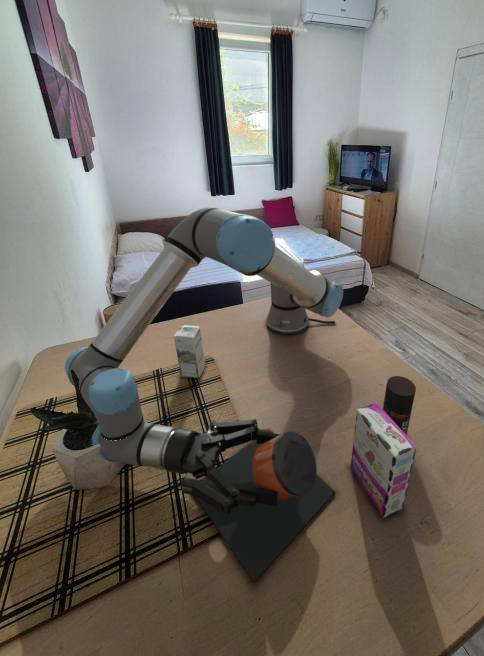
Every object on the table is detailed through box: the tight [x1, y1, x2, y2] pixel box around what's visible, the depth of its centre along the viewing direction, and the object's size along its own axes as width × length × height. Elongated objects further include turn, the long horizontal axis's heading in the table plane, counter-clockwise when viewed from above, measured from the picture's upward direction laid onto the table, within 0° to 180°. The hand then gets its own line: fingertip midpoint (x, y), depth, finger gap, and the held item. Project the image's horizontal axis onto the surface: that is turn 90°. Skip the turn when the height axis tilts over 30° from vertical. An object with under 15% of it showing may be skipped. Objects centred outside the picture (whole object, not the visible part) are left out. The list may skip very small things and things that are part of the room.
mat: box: [194, 439, 336, 585], centre depth 64 cm, size 20×20×1 cm
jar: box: [252, 430, 318, 502], centre depth 59 cm, size 6×10×10 cm
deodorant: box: [382, 375, 417, 437], centre depth 73 cm, size 6×6×15 cm
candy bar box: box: [350, 402, 417, 519], centre depth 61 cm, size 11×5×16 cm, turn 23°
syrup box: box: [173, 324, 206, 379], centre depth 93 cm, size 6×6×14 cm
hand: (283, 468), depth 60 cm, fingers closed on jar, 10 cm apart
